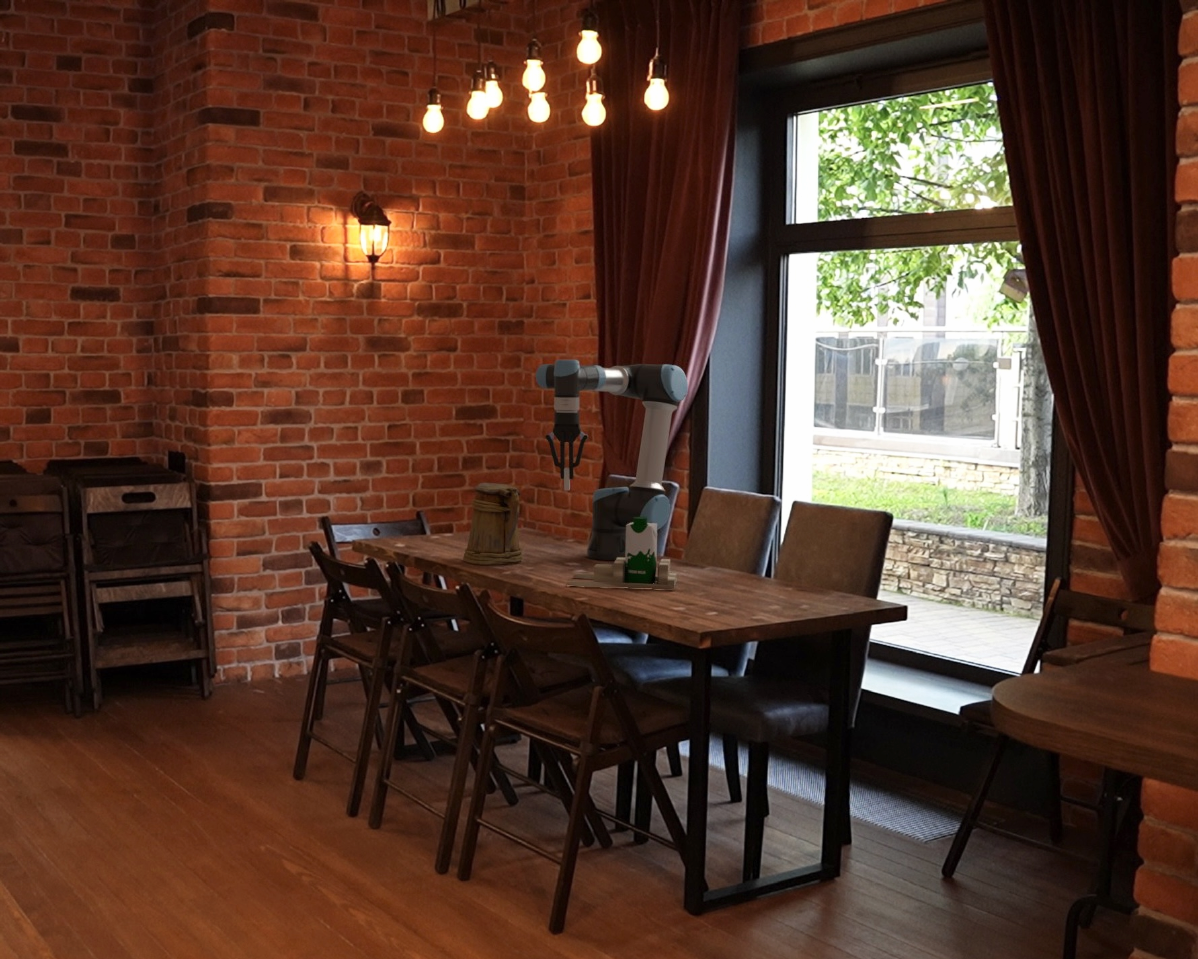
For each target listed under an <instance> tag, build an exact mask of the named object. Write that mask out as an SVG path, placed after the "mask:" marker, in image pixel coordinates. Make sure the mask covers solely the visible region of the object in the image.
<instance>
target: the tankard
mask: <svg viewBox="0 0 1198 959" xmlns="http://www.w3.org/2000/svg"><path fill="white" fill-rule="evenodd" d="M474 489H475V490H476V493H475V497H474V498H473V499H472V500H473V501H472V505H471V506H472V509H473V511H472V518H471V523H470V528H469V529H470V530H469V534H468V541H467V547H466V549H465V550H464V553H463V557H462V560H463V561H464V562H467V563H469V564H474V565H478V566H479V565H481V566H490V565H504V566H510V565H509V564H513V565H515V564H514V563H517V564H520V563H521V562H522V561H523V553H522V549H521V547H520V538H519V528H518V523H519V522H518V521H519V518H520V507H521V506H520V497H519V496H521V494H522V493H521V490H518V488H517V487H514V486H511V485H508V484H503V483H494V482H491V483H490V482H481V483H479V484H477V485H476V486H475V488H474ZM519 562H520V563H519Z"/></svg>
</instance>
